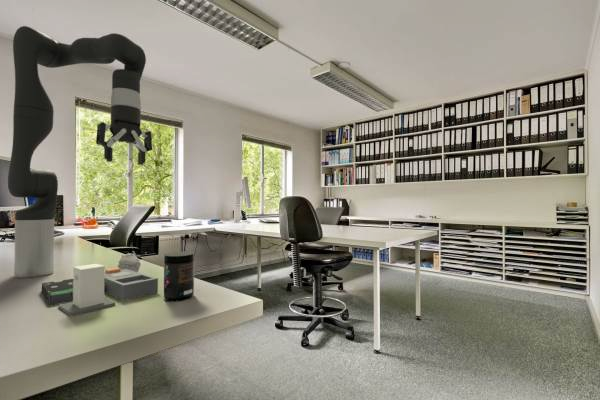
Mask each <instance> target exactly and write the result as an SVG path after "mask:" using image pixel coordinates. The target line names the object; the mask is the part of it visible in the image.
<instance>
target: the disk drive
mask: <svg viewBox="0 0 600 400" xmlns="http://www.w3.org/2000/svg"><path fill="white" fill-rule="evenodd" d="M41 293H42V295H43V296H44V298H45V299H46V302H47V304H48V305H49V306H54V305H57V304H58V305H60V304H65V303H70V302H73V278H69V279H63V280H61V281H48V282H42V283H41Z"/></svg>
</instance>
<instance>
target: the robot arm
mask: <svg viewBox="0 0 600 400" xmlns="http://www.w3.org/2000/svg"><path fill="white" fill-rule="evenodd" d="M12 51H13V52H12V53H13V64H14V66H13V67H14V101H13V115H12V116H13V117H12V118H13V119H12V120H13V122H12V123H13V125H12V126H13V127H12V128H13V129H12V130H13V132H12V133H13V134H12V148H11V155H10V161H9V169H8V176H7V189H8V192H9V193H10V195H11V196H12V197H15V198H30V199H32V198H33V199H35V200H34V203H32V204H31V205H29V206H27V207H24V208H21V209H18V210H16V211H15V213H14V258H13V259H14V263H13V264H14V265H13V266H14V269H13V271H14V272H13V277H14V278H33V277H34V278H35V277H40V276H47V275H50V274H53V273H54V269H55V268H54V265H55V264H54V261H55V214H56V211H57V202H58V190H59V189H58V188H59V187H58V186H59V184H58V183H59V181H58V176H57V174H56V173H55V172H54V171H53V170H51V169H45V168H37V167H35V168H33V167H31V163H32V157H33V154H34V152H35V150H36V149H37V148H38V147H39V146H40V145H41V143H43V141H44V140H45V139H46V138H47V137H48V136H49V135H50V133H52V131H53V128H54V114H55V112H54V106H53V103H52V100H51V97H50V96H49V95H48V93H47V90H46V88H45V87H44V85H43V83H42V81H41V79H40V76H39V67H38V66H39V65H40V66H43V67H44V68H45V67H46V68H50V69H51V68H52V69H54V68H62V67H66V66H67V67H68V66H72V65H79V64H93V65H95V64H97V65H98V64H99V65H108V64H113V63H114V62H115V61H116V60H117V61H118V62H119V63H121V64H123V68H117V69H115V70H114V71H113V72H112V76H111V79H112V80H111V82H112V84H111V87H112V88H111V96H110V124H107V123H105V122H103V121H102V122H99V123H97V124H96V125H97V128H96V139H95V141H96V142H95V143H96V145H97V146H101V147H103V151H104V152H103V153H104V154H103V157H104V160H106V162H108V163H111V162H113V147H112V146H113V145H115V143H117V142H119V143H126V144H132V145H133V146H134V147H135V148H136V150H137V152H138V153H137V165H138V166H142V165H144V164H145V163H146V153H147V152H150V151H151V152H152V150H153V139H152V135H153V134H152V132H151V130H147V131H143V130H142V128H141V122H142V121H141V118H142V117H141V116H142V115H141V112H142V111H141V109H142V106H141V105H142V103H141V102H142V101H141V79H142V77H143V72H144V70H145V66H146V63H147V62H146V61H147V58H146V56H147V55H146V54H145V51H144V49H143V48H142V47H141V46H140V45H139V44H137V43H136V42H134V41H133V40H131V39H130V38H128V37H127V36H126V35H124V34H121V33H118V32H111V33H108V34H106V35H102V36H101V37H79V38H76V39H75V40H73V42H72V43H71V44H67V43H62V42H59V41H56V40H55V39H54V38H52V37H50V36H48V35H47V34H45V33H43V32H41V31H39V30H37V29H35V28H32V27H30V26H26V25H23V26H20V27H19V28H17V29H16V30H15V34H14V35H13V40H12ZM108 130H109V131H110V133H111V134H112V135H111V136H110V137H109V138H108V139H107V141H105V140H106V132H108ZM141 136H142V138H143V141H142V140H141V138H140V137H141ZM143 143H144V144H143Z"/></svg>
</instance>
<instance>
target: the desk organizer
mask: <svg viewBox="0 0 600 400" xmlns="http://www.w3.org/2000/svg"><path fill="white" fill-rule="evenodd" d="M158 287H159V278H157V277H154V276H151V275H148V274H145V273H142V272H139V271H138V272H135V271H132V270H128V269H122V270H121V269H120V268H118V267H115V268H108V269H107V268H106V269H105V270H104V293H106V294H108V295H110V296H113V297H114V298H117V299H120V300H121V301H127V300H131V299H136V298H140V297H144V296H149V295H153V294H157V293H159V288H158Z"/></svg>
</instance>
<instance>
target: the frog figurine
mask: <svg viewBox="0 0 600 400" xmlns="http://www.w3.org/2000/svg"><path fill="white" fill-rule="evenodd" d="M141 265H142V264H141V262H140V259H139V258H138V256H136V254H135V253H126V254H121V257H120V259H119V261H118V265H117V268H120V269H121V270H122V269H128V270H132V271H135V272H138V273H139V270H140V269H141V268H140V267H141Z"/></svg>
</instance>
